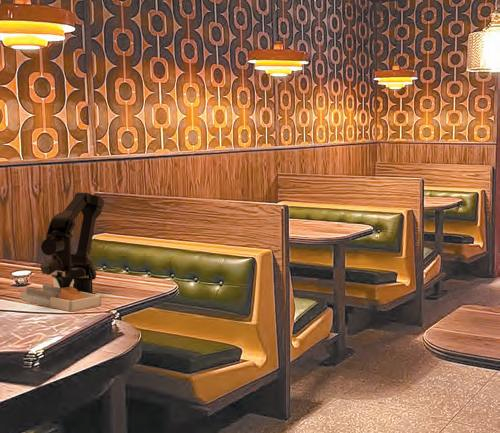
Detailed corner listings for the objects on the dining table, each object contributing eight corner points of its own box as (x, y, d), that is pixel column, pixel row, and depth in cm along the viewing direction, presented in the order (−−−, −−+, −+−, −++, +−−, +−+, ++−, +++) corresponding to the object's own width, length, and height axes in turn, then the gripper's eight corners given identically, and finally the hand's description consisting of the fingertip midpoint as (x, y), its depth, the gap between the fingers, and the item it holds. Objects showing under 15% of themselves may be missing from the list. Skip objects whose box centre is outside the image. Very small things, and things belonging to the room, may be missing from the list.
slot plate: (50, 294, 269) (50, 283, 269) (80, 300, 257) (80, 290, 257) (20, 299, 260) (20, 288, 259) (50, 306, 247) (49, 295, 247)
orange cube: (77, 290, 250) (84, 294, 247) (76, 301, 251) (83, 304, 248) (67, 292, 247) (74, 295, 244) (67, 303, 248) (73, 306, 245)
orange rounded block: (69, 296, 253) (70, 286, 252) (76, 300, 250) (77, 289, 250) (60, 298, 250) (61, 287, 249) (66, 302, 247) (67, 291, 247)
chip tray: (81, 300, 257) (80, 291, 257) (101, 305, 249) (101, 295, 249) (50, 306, 247) (50, 297, 247) (70, 311, 239) (70, 301, 239)
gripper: (28, 251, 251) (29, 294, 252) (58, 256, 239) (59, 301, 240) (55, 248, 259) (56, 289, 261) (85, 252, 247) (86, 296, 249)
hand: (64, 294), depth 252 cm, fingers closed
